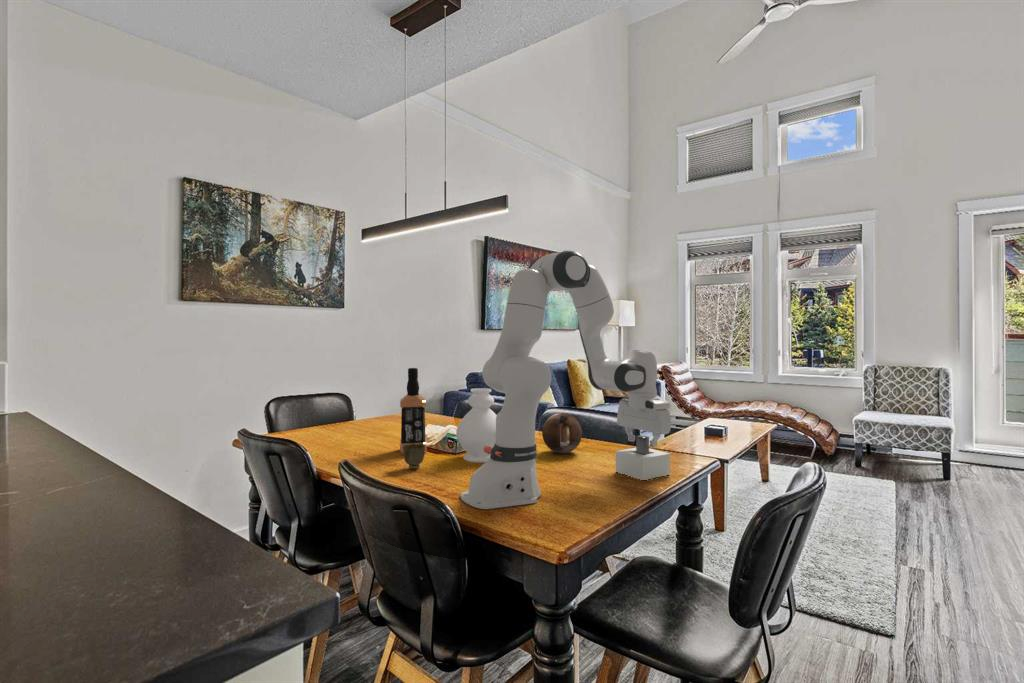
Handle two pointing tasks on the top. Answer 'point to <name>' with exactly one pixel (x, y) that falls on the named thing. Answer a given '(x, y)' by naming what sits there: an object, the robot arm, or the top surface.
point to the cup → (414, 455)
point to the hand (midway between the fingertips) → (642, 443)
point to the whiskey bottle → (412, 413)
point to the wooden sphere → (562, 433)
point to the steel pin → (642, 445)
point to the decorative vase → (478, 426)
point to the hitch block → (642, 463)
